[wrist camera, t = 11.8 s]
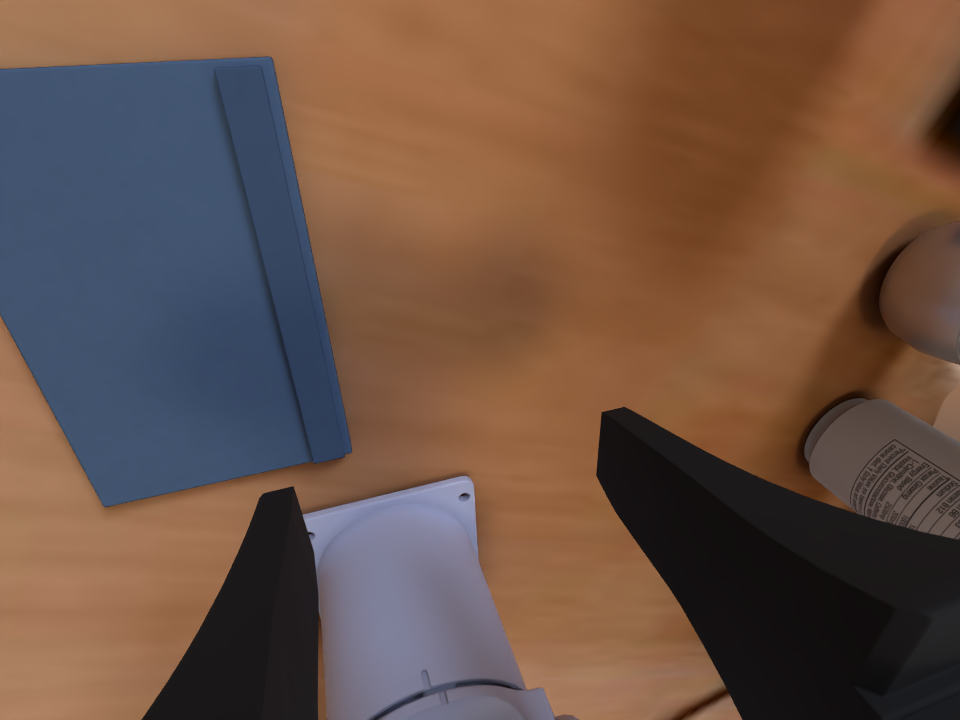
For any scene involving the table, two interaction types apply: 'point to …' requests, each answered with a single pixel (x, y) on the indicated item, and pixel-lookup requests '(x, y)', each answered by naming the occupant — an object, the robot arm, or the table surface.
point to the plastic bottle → (926, 293)
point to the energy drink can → (888, 465)
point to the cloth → (164, 272)
